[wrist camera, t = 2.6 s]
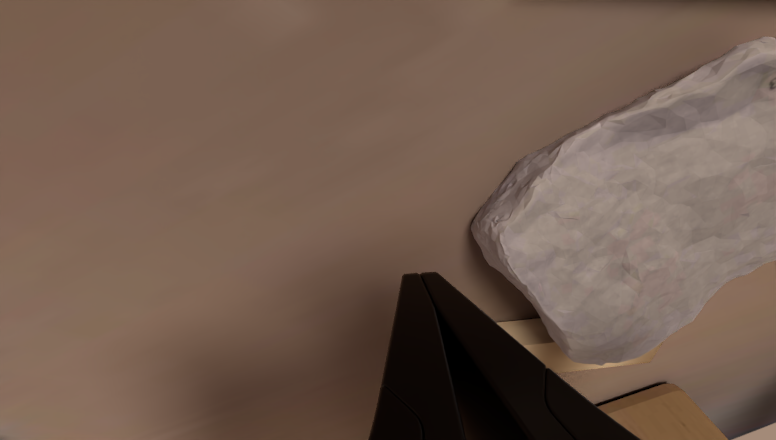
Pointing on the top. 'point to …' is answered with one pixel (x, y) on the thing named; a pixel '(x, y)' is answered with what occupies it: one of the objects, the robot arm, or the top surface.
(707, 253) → the stone block
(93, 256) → the top surface
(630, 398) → the wooden block
